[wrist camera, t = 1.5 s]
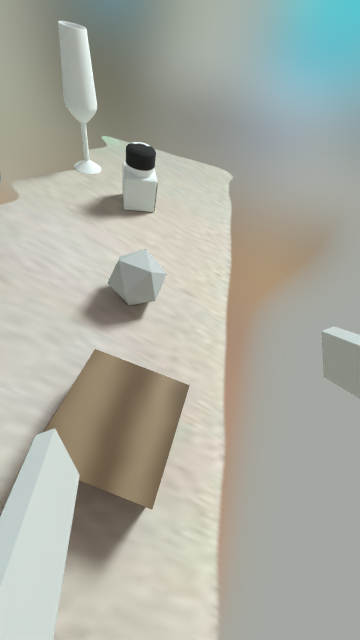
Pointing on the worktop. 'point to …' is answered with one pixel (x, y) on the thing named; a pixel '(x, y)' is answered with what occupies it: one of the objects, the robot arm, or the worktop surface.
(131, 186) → the medicine bottle
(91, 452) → the walnut block
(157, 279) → the die
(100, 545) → the worktop surface
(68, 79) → the champagne flute
